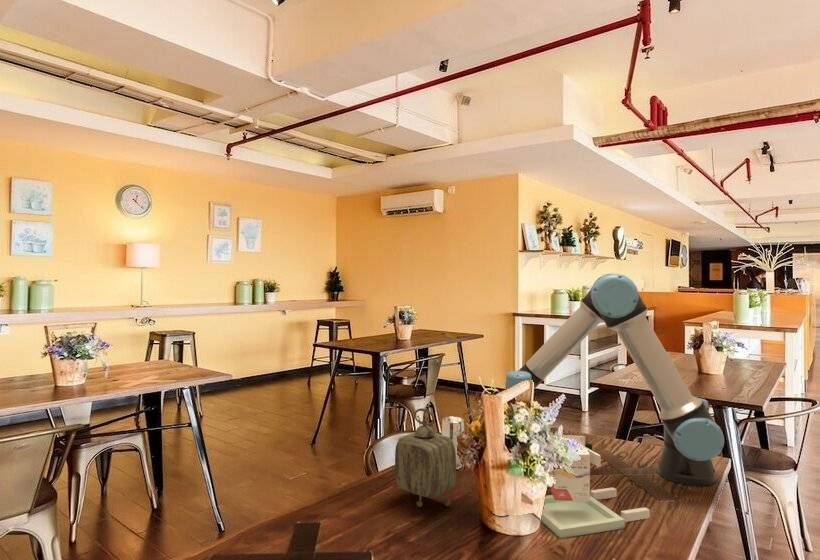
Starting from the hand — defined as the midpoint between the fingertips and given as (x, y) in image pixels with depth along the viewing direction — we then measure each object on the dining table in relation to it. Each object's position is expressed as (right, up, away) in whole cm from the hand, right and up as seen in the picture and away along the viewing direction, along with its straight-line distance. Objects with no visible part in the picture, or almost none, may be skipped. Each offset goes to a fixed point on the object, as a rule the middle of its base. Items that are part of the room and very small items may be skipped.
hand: (581, 463), depth 124 cm
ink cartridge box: (-1, -10, +5) cm, 11 cm away
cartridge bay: (+13, -14, +9) cm, 21 cm away
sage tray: (-1, -15, +4) cm, 15 cm away
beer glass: (-27, -15, +38) cm, 49 cm away
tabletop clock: (-37, -15, +12) cm, 42 cm away
